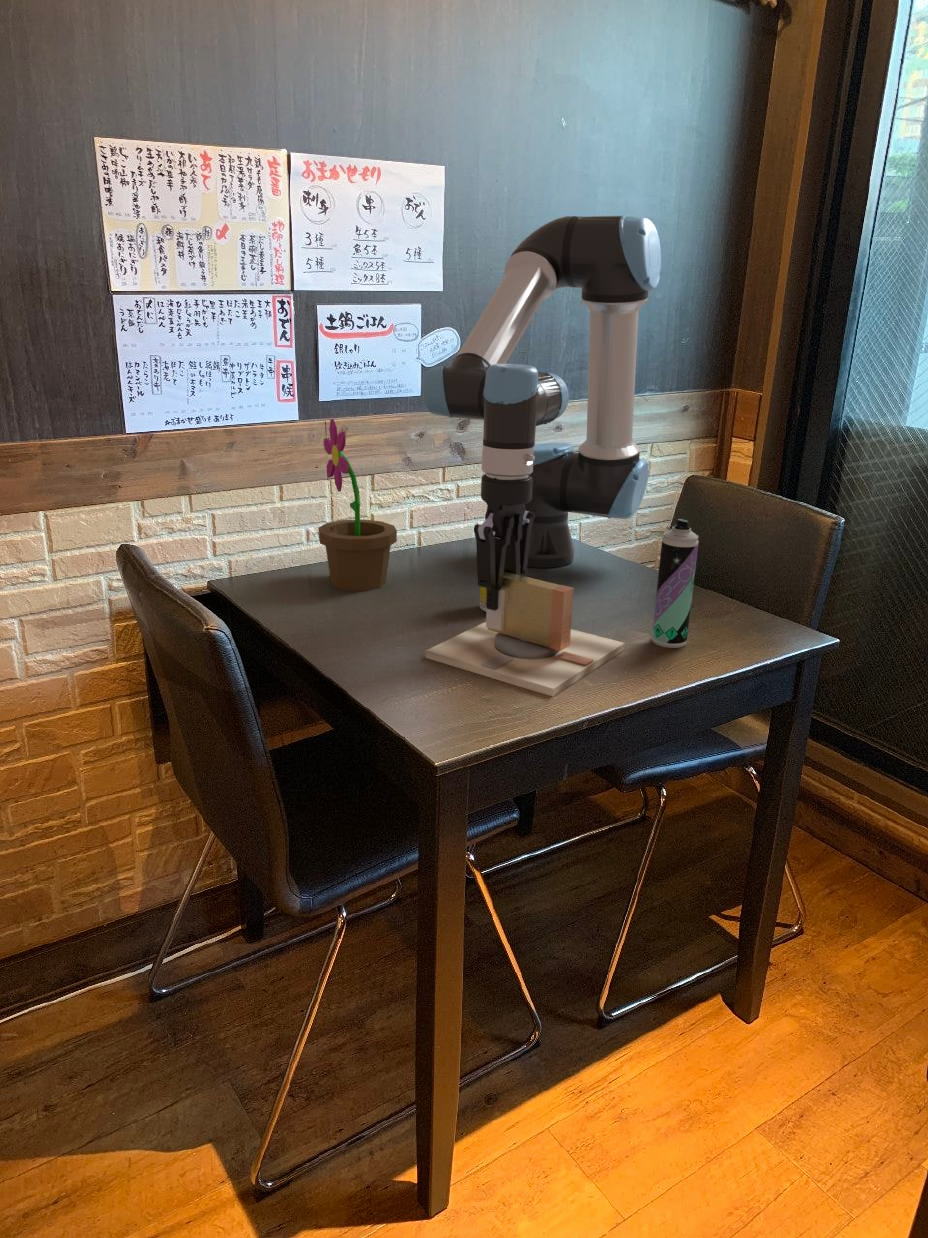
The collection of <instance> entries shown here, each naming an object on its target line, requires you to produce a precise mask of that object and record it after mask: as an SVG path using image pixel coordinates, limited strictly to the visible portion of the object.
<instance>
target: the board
mask: <svg viewBox="0 0 928 1238" xmlns="http://www.w3.org/2000/svg"><path fill="white" fill-rule="evenodd" d="M625 646H626V645H625V642H623V641H619V640H615V639H612V638H611V639H610V638H606V637H603V636H599V635H597V634H596V635H595V634H591V633H588V632H584V631H580V630H576V629H572V628H571V635H570V646H569V647H567V648H565V649H563V650H561V651H558V650H555V649H551V648H549V647H546V646H543V645H539V644H536V643H532V642H523V641H520V640H519V639H518V638H515V637H512V636H508V635H505V634H501V633H498V632H494V631H491V630H488V627H486V621H484V622H482V623H480V624H478V625H476V626H474V627H471V628H470V629H468V630H466V631H465V630H464V631H463V632H462V633H459V634H458V635H455V636H453V637H451V638H449V639H447V640H445V641H443V642H441V643H438V644H436V645H435V646H432V647H430V648H428V649H426V651H425V659H428V660H432V661H435V662H438V663H442V664H445V665H449V666H451V667H453V668H454V667H455V668H458V669H461V670H464V671H467V672H471V673H474V674H477V675H481V676H484V677H486V678H487V677H488V678H490V679H494V680H497V681H500V682H503V683H507V684H510V685H513V686H515V687H516V686H517V687H520V688H523V689H527V690H529V691H533V692H536V693H539V694H543V695H546V696H550V697H552V698H553V697H555V696H556V695H559V694H560V693H561V692H562V691H564V690H566V689H567V688H569V687H570V686H572V685H573V684H575V683H576V682H578V681H580V680H581V679H582V678H584V677H585V676H587V675H588V674H590V673H592V672H593V671H594V670H596V669H597V668H599V667H600V666H603V664H605V663H607V662H608V661H610V660H611V659H613V658H615V657H616V656H617V655H618V654H620V653H622V652H623V651H625Z"/></svg>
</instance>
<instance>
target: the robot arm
mask: <svg viewBox="0 0 928 1238" xmlns="http://www.w3.org/2000/svg"><path fill="white" fill-rule="evenodd" d="M660 242H661V241H660V237H659V234H658V230H657V229H656V226H655V224H654V223H653V222H652V221H651V220H650V219H649V218H647V217H641V216H633V215H631V216H630V215H626V214H625V215H601V216H600V215H599V216H597V215H595V216H577V215H568V216H567V215H566V216H563V217H558V218H556V219H553V220H551V221H549V222H547V223H545V224H544V225H541V226H540V227H539V228H537V229H536V230H534V231H533V232H531V233H530V234H529V235H528V236H527V237H525V238H524V240H522V241H521V243H519V245H517V247H516V248H515V249H514V250H513V252H512V253H511V255H510V257H509V258H508V260H507V262H506V263H505V265H504V277H503V279H502V281H501V282H500V284H499V285H498V287H497V289H496V291H495V292H494V293H493V295H492V297H491V299H490V300H489V302H488V304H487V306H486V307H485V308H484V310H483V312H482V313H481V315H480V317H479V318H478V320H477V321H476V323H475V324H474V327H473V328H472V330H471V331H470V333H469V335H468V336H467V337H466V340H465V341H464V343H463V345H462V347H461V348H460V349H459V351H458V353H457V354H456V356H455V358H454V359H453V360H452V362H451V364H450V365H449V366H446V365H441V366H435V367H432V368H430V369H429V370H427V372H426V374H425V376H424V378H423V382H422V387H421V394H422V395H421V396H422V401H423V403H424V406H425V409H426V410H427V411H428V412H429V413H430V414H432V415H435V416H443V417H448V418H453V419H454V418H457V419H470V420H480V421H481V420H482V421H483V433H482V434H483V436H482V437H483V438H482V449H481V450H482V451H481V452H482V453H481V471H482V472H483V473H484V474H482V476H481V479H480V480H481V481H480V482H481V483H480V484H481V485H480V497H481V499H482V501H483V502H484V503H486V505H487V506H486V507H487V508H486V512H485V515H484V519H485V520H484V521H483V522H482V523H481V524H478V523H477V524H474V527H473V533H474V537H475V539H476V543H475V545H476V568H477V569H476V572H477V573H476V574H477V576H476V577H477V586H478V587H480V586H481V587H485V588H486V589H487V598H486V599H487V600H486V607H487V611H486V612H485V613H486V614H485V615H486V617H485V622H486V627H489V628H492V629H496V630H500V631H501V630H503V624H504V602H505V589H503V588H502V581H503V573H504V571H505V572H509V573H513V574H517V575H521V576H526V575H527V572H528V567H530V568H542V569H543V568H544V569H545V568H556V567H562V566H567V565H569V564H571V563H573V561H574V559H575V558H574V557H575V547H574V544H573V543H574V542H573V539H572V535H571V531H570V527H569V521H568V520H569V513H573V514H581V515H587V516H588V515H589V516H594V517H600V518H607V519H609V520H610V519H617V520H618V519H620V520H627V519H630V518H632V517H633V516H634V515H636V513H637V511H639V508H640V505H641V503H642V501H643V498H644V495H645V492H646V489H647V484H648V481H649V480H648V479H649V476H650V475H649V473H650V467H649V462H648V461H647V460H645V459H644V458H640V455H641V454H640V452H641V449H640V447H639V445H638V444H636V443H635V441H634V440H633V430H634V429H633V428H634V427H633V426H634V407H635V389H636V369H637V368H636V367H637V350H638V346H637V345H638V328H639V311H640V308H641V307H643V305H644V304H645V303H646V302H647V301H648V299H649V292H650V291H652V290H655V289H656V288H657V286H658V285H659V282H660V278H661V275H660V274H661V273H660V272H662V250H661V243H660ZM559 288H581V301H582V302H583V304H584V305H585V306H586V307H587V308H588V309H589V331H588V333H589V334H588V340H589V341H588V369H587V371H588V373H587V376H588V377H587V405H586V406H587V407H586V408H587V412H586V413H587V414H586V440H584V441H583V442H582V443H581V444H580V445H579V446H578V451H577V452H574V450H575V449H574V447H573V444H571V443H567V442H566V443H565V442H548V443H547V442H546V443H538V444H537V443H536V429H537V427H538V426H541V425H547V424H550V423H552V422H554V421H555V420H556V419H558V418H560V417H561V416H562V415H563V414H564V413H565V411H566V410H567V408H568V404H569V398H570V393H569V390H568V386H567V384H566V383H565V381H564V380H563V379H562V378H561V377H560V376H558V375H557V374H555V373H552V372H547V371H546V372H542V371H538V369H537V368H536V367H535V366H533V365H530V364H521V363H520V364H519V363H507V362H508V360H509V359H510V358H511V355H512V354H513V352H514V350H515V349H516V346H517V345H518V343H519V342H520V339H521V338H522V336H523V335H524V332H525V331H526V329H527V327H528V326H529V323H530V322H531V320H533V317H534V316H535V314H536V312H537V309H539V307H540V304H541V303H542V301H545V300H547V299H548V298H549V297H551V296H552V295H553V293H555V291H556V290H557V289H559Z"/></svg>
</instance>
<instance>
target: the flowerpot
mask: <svg viewBox="0 0 928 1238" xmlns="http://www.w3.org/2000/svg"><path fill="white" fill-rule="evenodd" d="M328 429H329V430H328V431H329V438H328V437H327V438H323V448H324V451H325V452H326V454H327V455H331V459H329V460H328V461H327V464H326V477H327V478H328V479H329V478H332V477H334V478H333V479H334V485H335V487H336V491H337V492H338V493H339V492H340V493H341V491H342V488H343V487H342V486H343V475H342V474H344V475H345V474H348V475H349V476H350V480H351V481H350V482H351V485H352V492H353V496H354V501H352V502H350V503H349V507H350V509H352V510H353V511H354V519H342V520H336V521H330V522H325V523H324V524H322V525H321V526H319V527H318V539H319V540H318V541H319V544H320V545H322V546H325V552H326V558H327V564H328V565H327V566H328V570H329V571H328V572H329V579H330V582H331V583H330V584H331V586H332V587H334V588H337V589H338V590H341V591H342V590H343V591H351V592H363V591H366V592H367V591H372V590H377V589H381V588H382V587H384V585H386V583H387V577H388V567H389V561H390V560H389V559H390V554H391V552H390V551H391V546H392V545H393V544H395V543H397V542H398V541H397V540H398V534H397V533H398V530H397V529H396V528H397V527H395V525H393V524H391V523H387V522H384V521H380V520H371V519H361V508H360V507H361V497H360V490H359V489H360V488H359V485H358V481H357V477H356V474H355V471H354V470H353V468H352V466H351V463H350V462H349V460H348V457H346V456H345V455H344V453H343V452H344V449H345V447H346V433H345V432H344V431H342V432H340V433H338V428H337V424H336V423H335V420H334V418H331V419H330V421H329V428H328Z"/></svg>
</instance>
